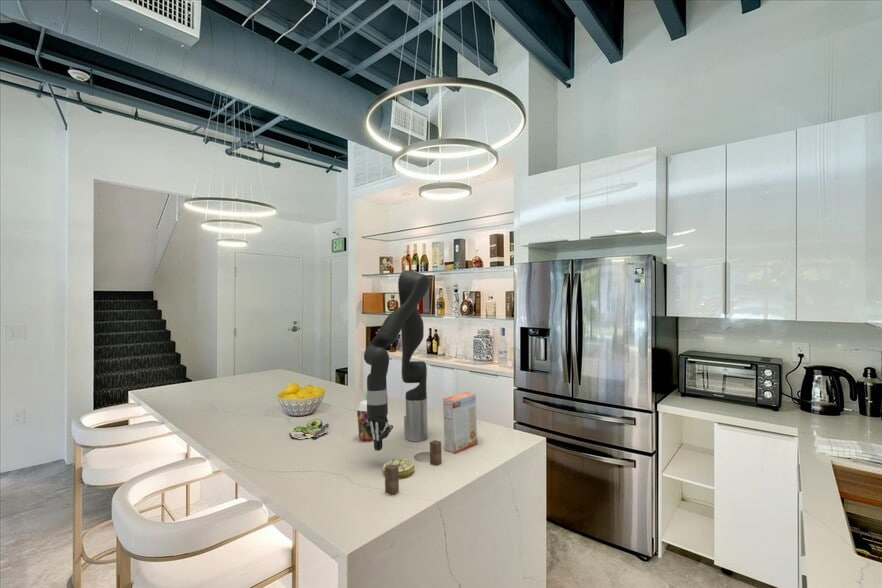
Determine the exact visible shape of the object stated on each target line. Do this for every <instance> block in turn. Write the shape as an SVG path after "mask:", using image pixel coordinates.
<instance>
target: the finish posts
mask: <svg viewBox="0 0 882 588" xmlns="http://www.w3.org/2000/svg"><path fill="white" fill-rule="evenodd" d="M442 463H443V462H442V441H441V440H436V439H433V440H431V441H430V442H429V465H431V466H435V467H438V466H440V465H441V464H442ZM399 480H400V478H399V474H398V466H396V465H392V464H390V465H389V466H387V467H385V474H384V493H385V494H386V493H388V494H387V495H389V494H390V495H389V496H392V495H393V496H395V495H396V494H397V492H398V493H399V492H400V490H399V489H400V484H399ZM394 494H395V495H394Z"/></svg>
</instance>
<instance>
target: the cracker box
mask: <svg viewBox="0 0 882 588" xmlns="http://www.w3.org/2000/svg"><path fill="white" fill-rule="evenodd" d="M476 395H477V394H476V393H471V392H465V391H464V392H462V393H459V394H458V393H457V394H455V395H451V396H447V397H444V398H443V399H442V405H443V406H442V408H443V409H442V410H443V413H442V414H443V435H444V451H446V452H448V453H451V454H457V453H459V452H462V451H465V450H466V449H468V448H471V447H474V446H476V445H478V427H477V425H478V424H477V398H476Z"/></svg>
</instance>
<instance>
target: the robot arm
mask: <svg viewBox="0 0 882 588" xmlns="http://www.w3.org/2000/svg"><path fill="white" fill-rule="evenodd" d="M397 282H398V283H397V288H398V296H399V297H398V299H399V302H400V304H399V305H400V306H399V307H398V308H396V309H394V311H392V312H391V313H390V314H389V315H388V316H387V317H386V318H385V319H384V321H383V323H382V324H381V327H380V329H379V330H378V332H377V334H376V335H375V336H374V337H373V338H372V340H371V341H370V342H369V344H368V345H367V346H366V348H365V350H364V353H363V359H364V361H365V363H366V364H367V365H368V366H369V365H370V373H369V374H367V377H366V393H367V415H368V418H367V421H366V422H364V423H363V426H364V428H365V430H366V432H367V434H368V435H369V437H370V438H371V437H372V438H373V440H372V441H373V449H374V451H377V452H379V451H381V450H382V449H383V440H384V439H387V438H388V436H389V434H390V433H391V431H392V430H393V428H394V425H393V424H390V423H389V419H388V413H389V407H388V405H389V403H388V401H389V399H388V390H387V389H388V386H387V375H388V371H389V365H390V356H389V352H388V350H387V348H388V347H389V346H391V345H393V344H394V343H395V341H396V340H397V338H398V335H401V346H402V347H401V349H402V351H401V352H402V353H401V356H402V357H401V380H402V382H403V383H405V384H417V386H416V387H414V388H411V389H410V390H408V391H406V392H405V415H404V418H403V425H404V426H403V427H404V428H403V429H404V430H403V432H404V433H403V434H404V439H406V441H410V442H422V441H426V440H427V439H428V402H427V401H428V397H427V395H428V394H427V377H428V373H427V372H428V368H427V363H426V362H425V361H423V360H421V361H420V360H419V361H417V360H416V361H411V359H412V355H413V354H414V353H415V351H416V350H417V348H419V346H420V345H421V343H422V342H423V339H424V335H425V334H424V328H425V327H424V325H425V324H424V321H423V318H422V316H421V314H420V312H419V310H418V308H417V307H418V306H419V304H420V302H421V301H422V299H423V298H424V297H425V295H426V294H427V292H428V290H429V287H430V279H429V277H428V276H427V275H426V274H423V273H419V272H417V271H412V270H406V269H405V270H403V271H402V272H401V273H400V274H399V276H398V281H397ZM400 332H401V334H400ZM370 431H371V432H370Z"/></svg>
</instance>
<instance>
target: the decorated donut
mask: <svg viewBox="0 0 882 588" xmlns="http://www.w3.org/2000/svg"><path fill="white" fill-rule="evenodd" d="M390 464H392V465H396V466H398V474H399V479H401V478H403V477H404V478H407V477H408V476H411V475H412V474H413V472H414V470H415V463H414V461H413V460H411V459H408V458H395V459H394V458H393V459H391V460H389V461H386V463H384V464H383V465H382V472H383V474H384V475H385V467H387V466H389V465H390ZM404 478H403V479H404Z"/></svg>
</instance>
